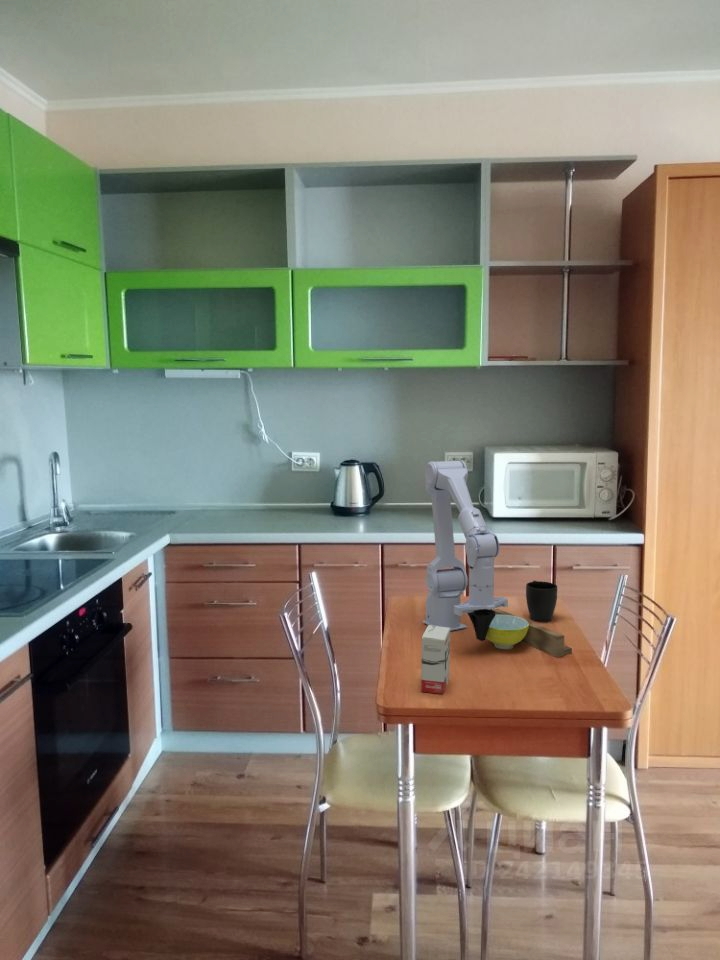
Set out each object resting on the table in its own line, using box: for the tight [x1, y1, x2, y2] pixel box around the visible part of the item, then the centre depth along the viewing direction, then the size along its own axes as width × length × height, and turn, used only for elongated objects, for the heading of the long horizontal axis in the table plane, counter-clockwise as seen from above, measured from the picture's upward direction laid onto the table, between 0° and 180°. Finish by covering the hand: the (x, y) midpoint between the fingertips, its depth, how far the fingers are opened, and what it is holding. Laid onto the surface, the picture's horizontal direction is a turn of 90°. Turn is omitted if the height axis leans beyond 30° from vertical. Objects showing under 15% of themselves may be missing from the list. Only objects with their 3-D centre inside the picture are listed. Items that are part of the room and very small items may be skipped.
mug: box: [525, 580, 558, 623], centre depth 191 cm, size 8×12×10 cm
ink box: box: [420, 625, 451, 695], centre depth 146 cm, size 8×5×12 cm, turn 165°
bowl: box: [486, 615, 529, 650], centre depth 169 cm, size 11×12×6 cm
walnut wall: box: [492, 608, 573, 659], centre depth 173 cm, size 24×5×5 cm, turn 28°
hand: (480, 639), depth 166 cm, fingers closed
